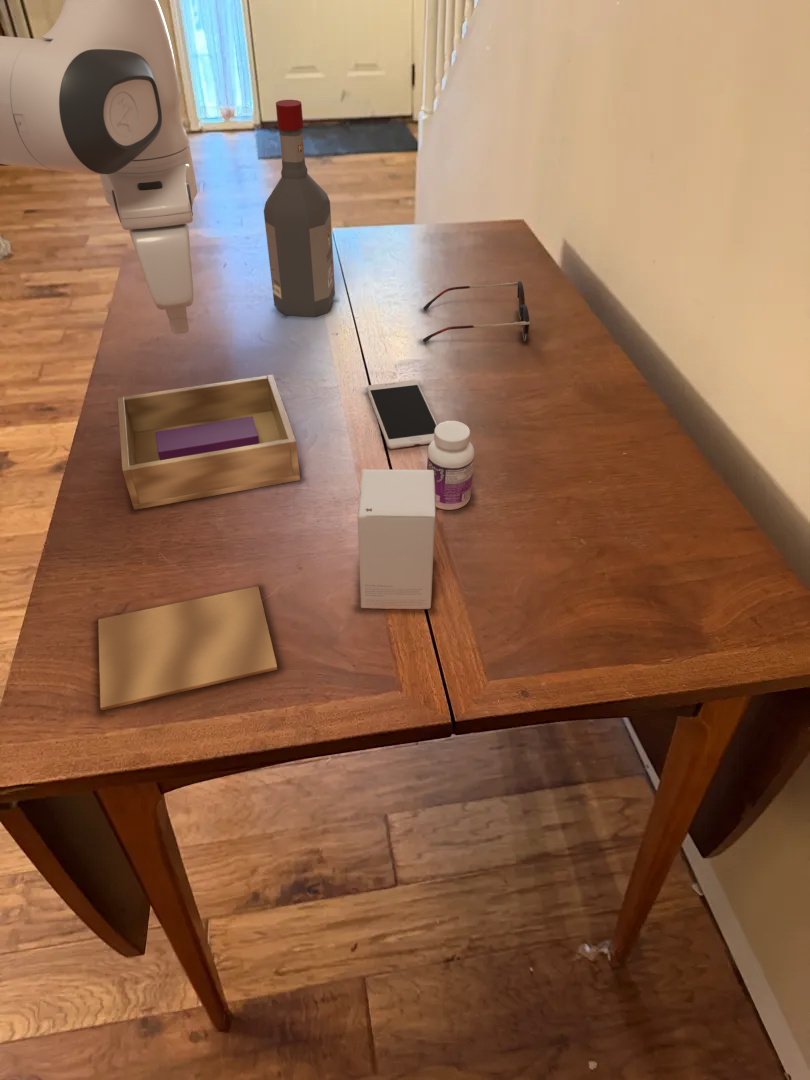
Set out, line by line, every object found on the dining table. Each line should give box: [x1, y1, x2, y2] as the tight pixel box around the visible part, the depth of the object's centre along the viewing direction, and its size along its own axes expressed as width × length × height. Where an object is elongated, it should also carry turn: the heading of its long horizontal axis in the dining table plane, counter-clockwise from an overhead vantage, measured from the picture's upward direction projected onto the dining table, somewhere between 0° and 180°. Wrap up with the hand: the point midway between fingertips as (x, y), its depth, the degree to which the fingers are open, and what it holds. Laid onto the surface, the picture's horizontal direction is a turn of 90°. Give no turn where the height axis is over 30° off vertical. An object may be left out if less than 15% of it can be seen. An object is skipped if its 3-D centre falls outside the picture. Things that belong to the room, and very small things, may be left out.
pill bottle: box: [426, 420, 475, 511], centre depth 89 cm, size 5×5×10 cm
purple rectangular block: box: [155, 416, 259, 460], centre depth 96 cm, size 12×4×3 cm, turn 107°
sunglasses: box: [422, 280, 531, 343], centre depth 122 cm, size 14×16×5 cm
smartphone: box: [366, 379, 439, 450], centre depth 105 cm, size 8×1×15 cm
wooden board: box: [97, 585, 279, 711], centre depth 75 cm, size 16×11×1 cm
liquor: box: [263, 99, 336, 318], centre depth 119 cm, size 9×9×30 cm
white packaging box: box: [357, 468, 437, 610], centre depth 77 cm, size 7×7×13 cm
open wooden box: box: [117, 374, 301, 511], centre depth 96 cm, size 20×16×6 cm
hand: (176, 310), depth 85 cm, fingers open, 8 cm apart
